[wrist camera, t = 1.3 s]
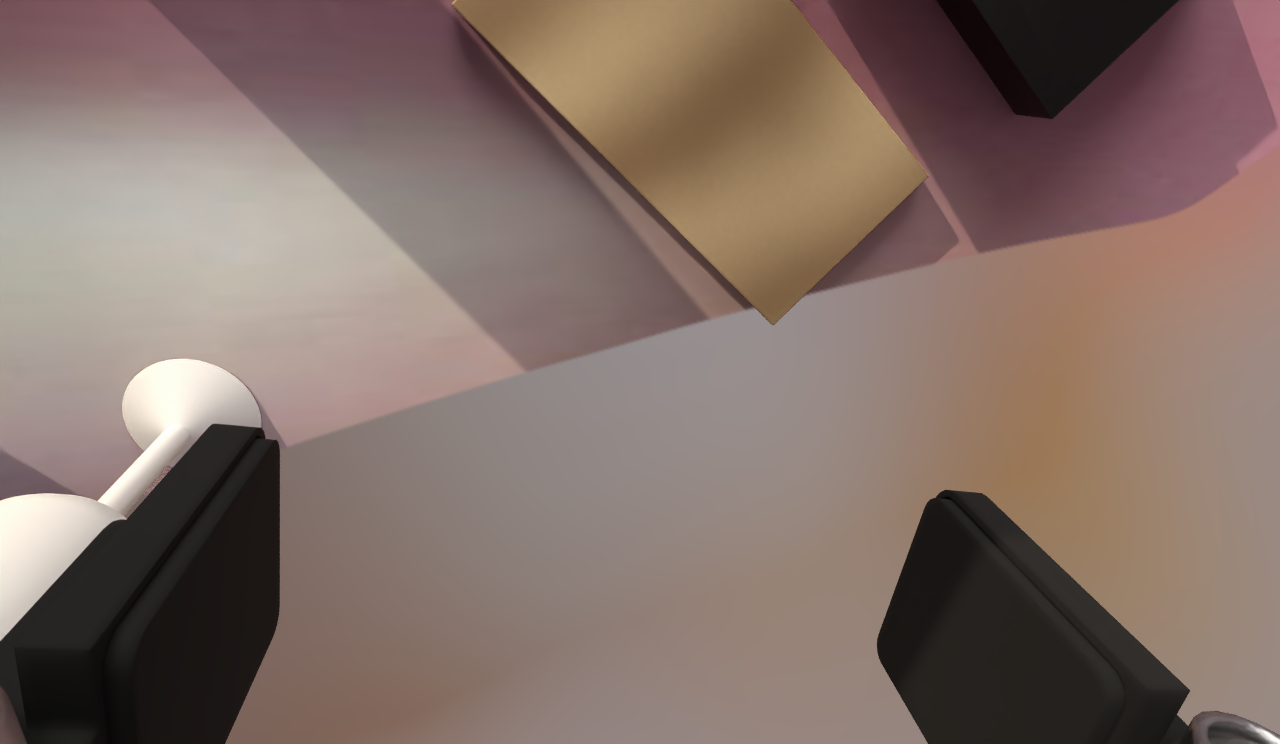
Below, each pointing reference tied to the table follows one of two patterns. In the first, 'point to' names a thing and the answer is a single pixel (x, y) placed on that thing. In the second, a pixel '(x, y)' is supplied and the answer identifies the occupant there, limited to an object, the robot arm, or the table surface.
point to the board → (718, 126)
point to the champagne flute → (162, 427)
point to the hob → (1049, 44)
